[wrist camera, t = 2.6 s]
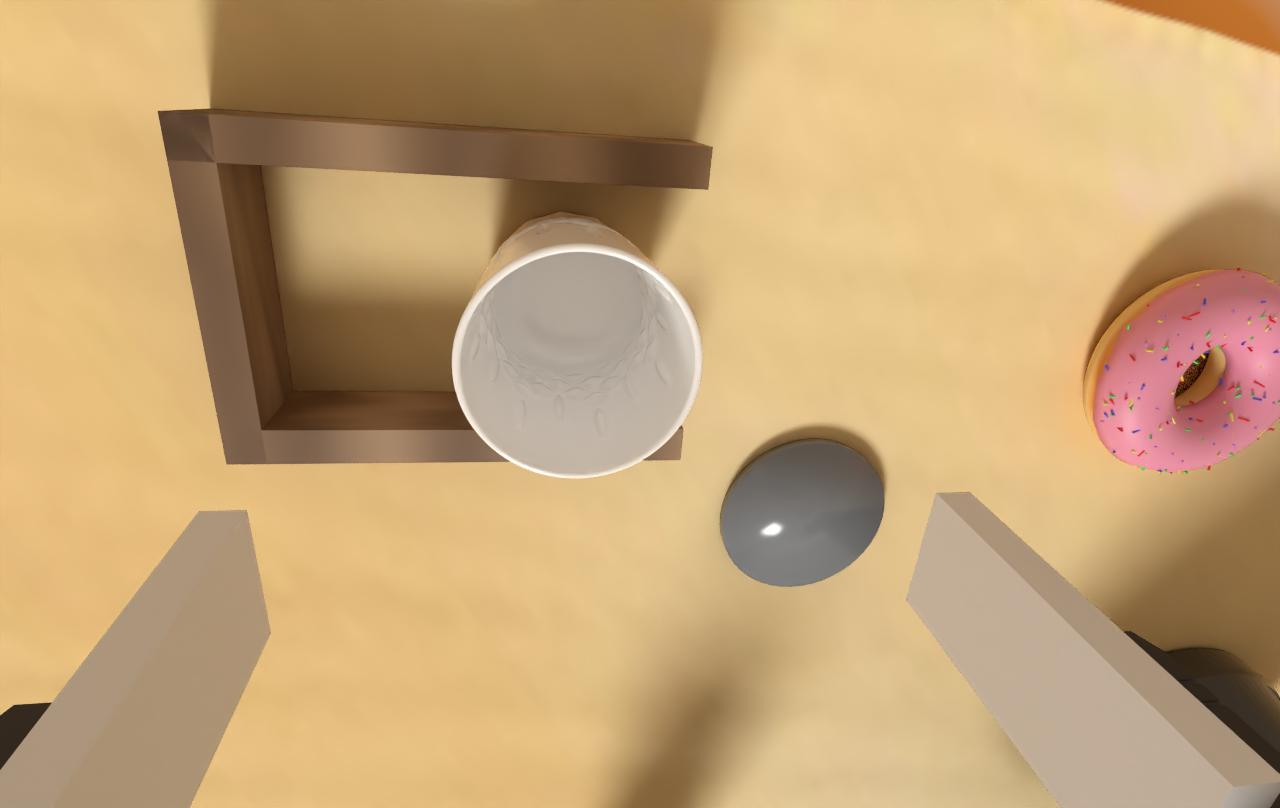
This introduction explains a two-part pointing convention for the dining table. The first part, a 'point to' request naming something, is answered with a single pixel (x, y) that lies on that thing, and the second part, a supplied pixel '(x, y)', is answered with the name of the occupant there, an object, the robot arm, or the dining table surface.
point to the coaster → (801, 512)
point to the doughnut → (1161, 353)
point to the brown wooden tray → (247, 285)
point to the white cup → (575, 351)
